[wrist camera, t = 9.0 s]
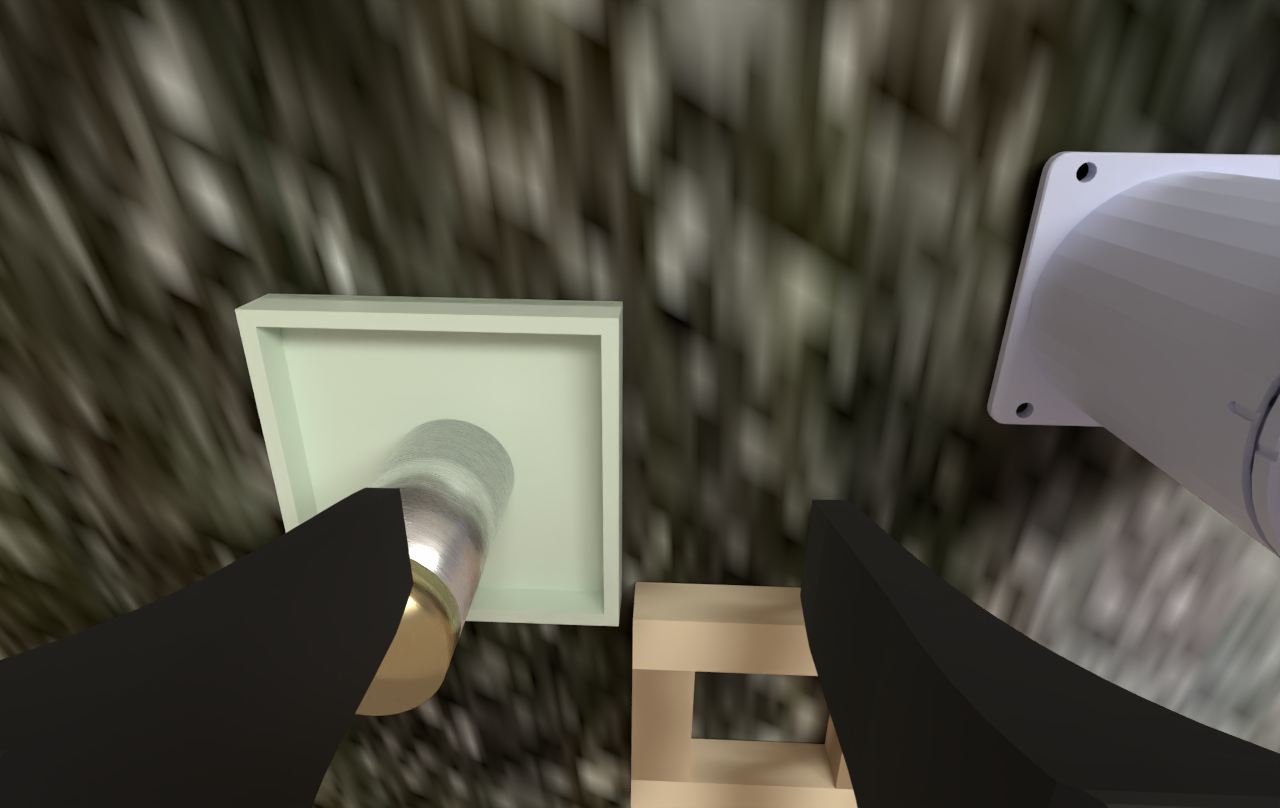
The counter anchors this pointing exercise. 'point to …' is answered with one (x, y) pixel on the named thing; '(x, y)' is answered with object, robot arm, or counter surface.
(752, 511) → the counter surface
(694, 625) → the tan square frame
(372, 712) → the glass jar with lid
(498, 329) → the tray
